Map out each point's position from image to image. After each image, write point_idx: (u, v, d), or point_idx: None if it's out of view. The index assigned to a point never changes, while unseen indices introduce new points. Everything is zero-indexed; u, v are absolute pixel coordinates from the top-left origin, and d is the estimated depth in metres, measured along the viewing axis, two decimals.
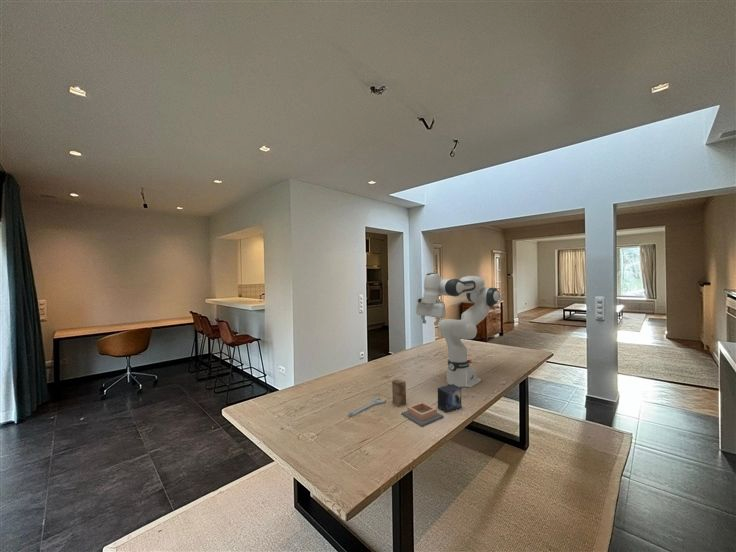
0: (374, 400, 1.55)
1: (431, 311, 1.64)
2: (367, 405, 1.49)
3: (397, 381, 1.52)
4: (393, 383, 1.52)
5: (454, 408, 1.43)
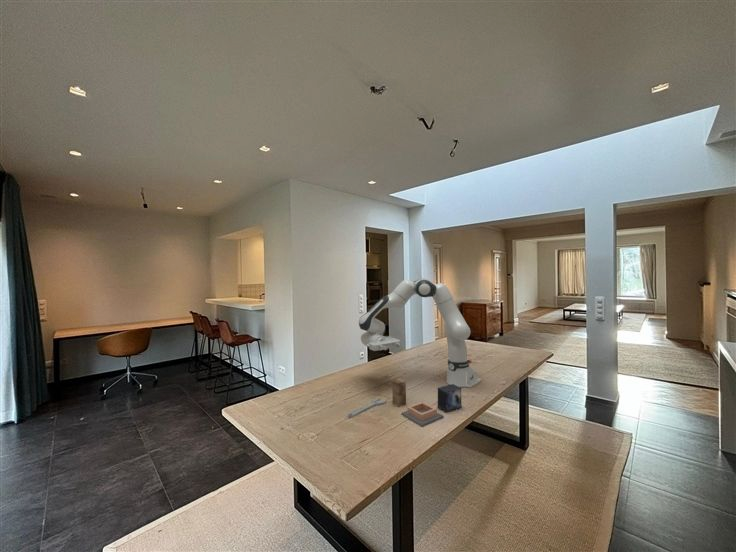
0: (374, 401, 1.54)
1: None
2: (367, 406, 1.49)
3: (397, 381, 1.52)
4: (393, 383, 1.52)
5: (454, 408, 1.43)
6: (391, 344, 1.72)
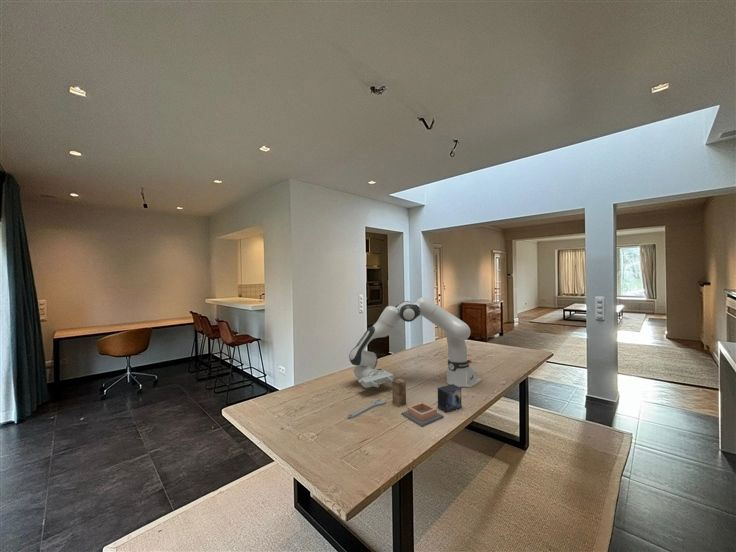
0: (374, 401, 1.53)
1: None
2: (367, 406, 1.48)
3: (397, 381, 1.52)
4: (393, 383, 1.52)
5: (454, 408, 1.43)
6: (384, 379, 1.69)
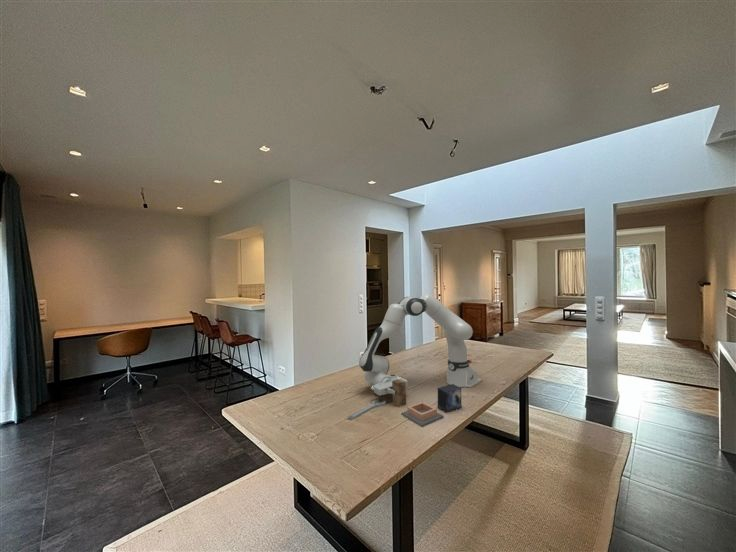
0: (374, 402, 1.52)
1: None
2: (367, 407, 1.47)
3: (397, 381, 1.52)
4: (393, 383, 1.52)
5: (454, 408, 1.43)
6: None
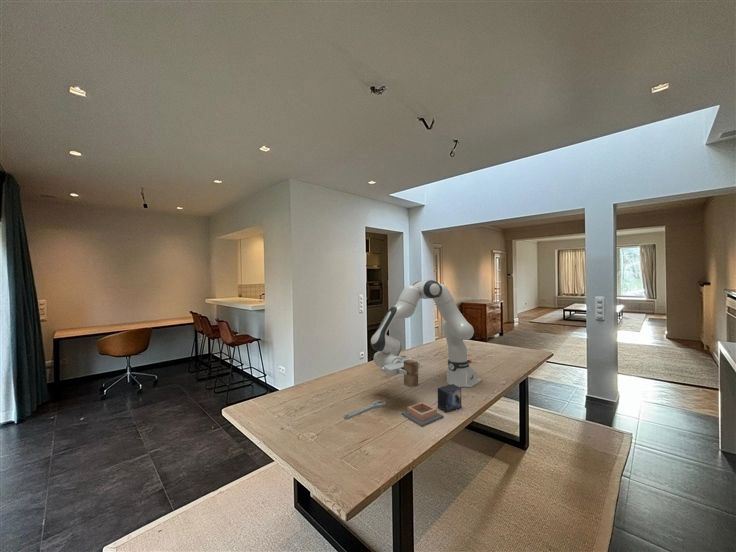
0: (374, 403, 1.51)
1: None
2: (365, 408, 1.46)
3: (409, 361, 1.44)
4: (404, 363, 1.44)
5: (454, 408, 1.43)
6: None
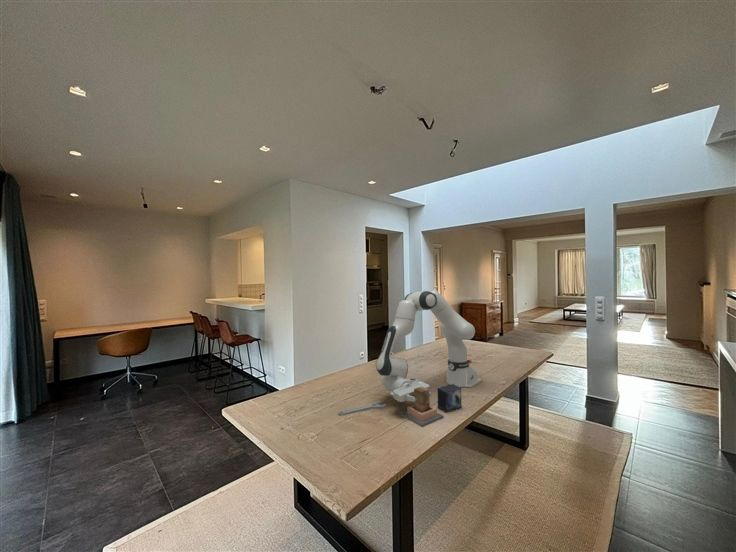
0: (373, 403, 1.51)
1: None
2: (363, 407, 1.47)
3: (420, 389, 1.38)
4: (415, 391, 1.38)
5: (454, 408, 1.43)
6: None
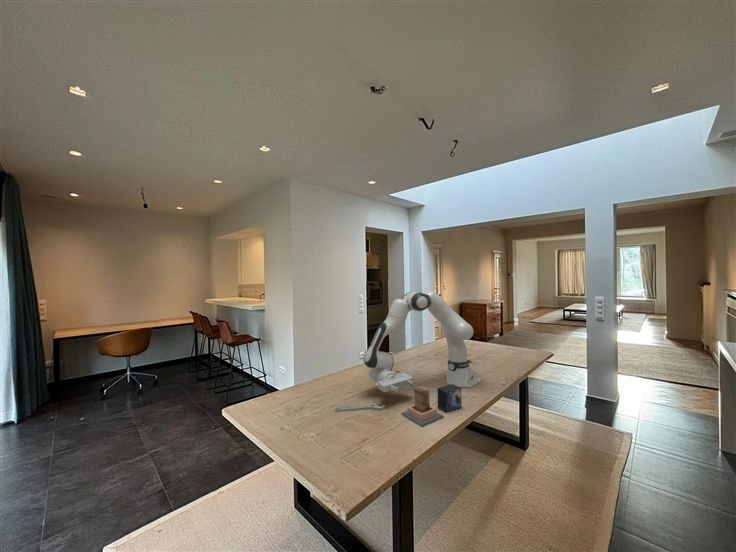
0: (373, 404, 1.50)
1: None
2: (361, 406, 1.48)
3: (420, 389, 1.38)
4: (415, 391, 1.38)
5: (454, 408, 1.43)
6: (403, 382, 1.55)
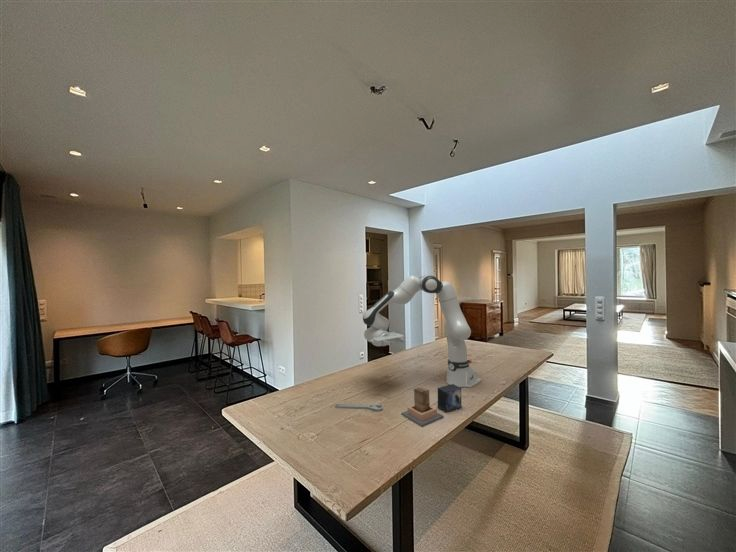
0: (372, 404, 1.49)
1: None
2: (359, 405, 1.49)
3: (420, 389, 1.38)
4: (415, 391, 1.38)
5: (454, 408, 1.43)
6: (395, 339, 1.69)
